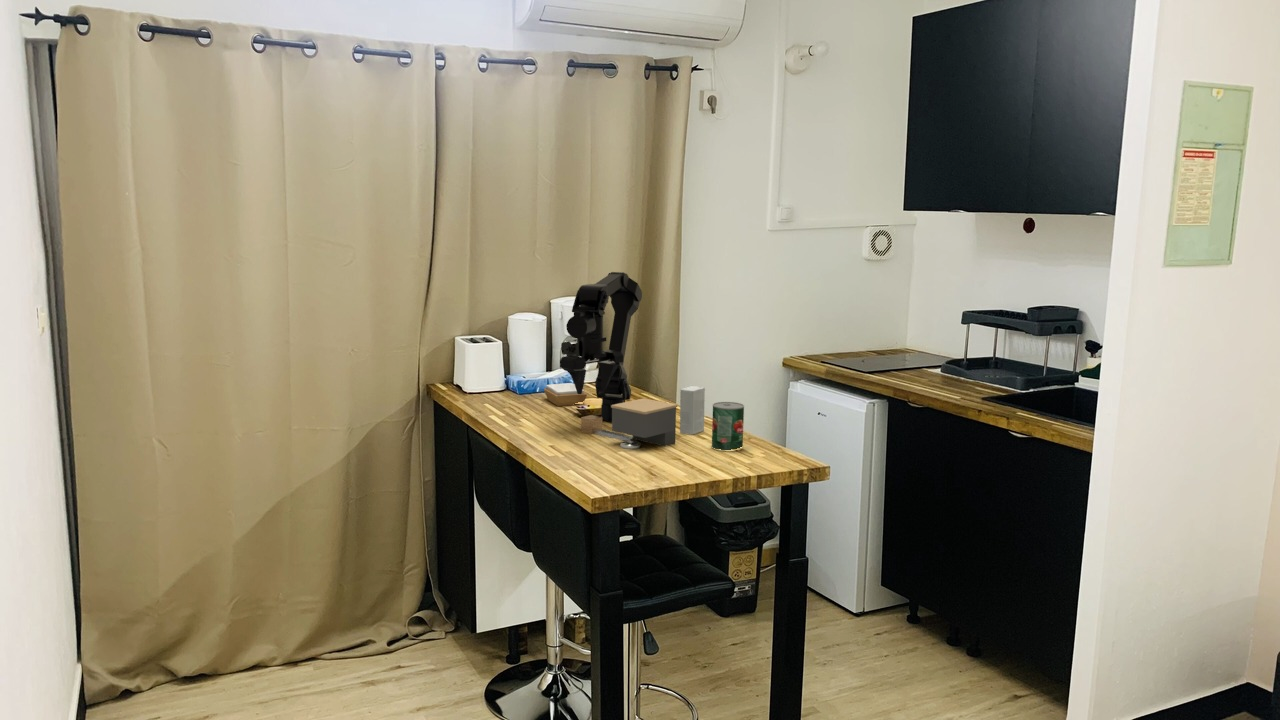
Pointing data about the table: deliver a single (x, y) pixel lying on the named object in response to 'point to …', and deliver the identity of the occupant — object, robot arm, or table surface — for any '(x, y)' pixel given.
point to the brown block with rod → (595, 427)
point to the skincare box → (692, 410)
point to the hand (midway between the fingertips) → (591, 391)
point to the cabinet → (646, 420)
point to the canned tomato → (727, 425)
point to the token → (630, 445)
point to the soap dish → (564, 394)
